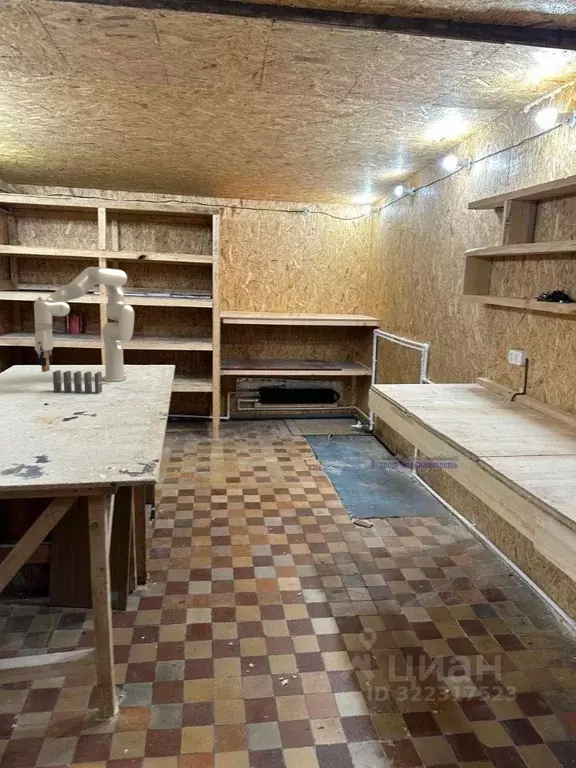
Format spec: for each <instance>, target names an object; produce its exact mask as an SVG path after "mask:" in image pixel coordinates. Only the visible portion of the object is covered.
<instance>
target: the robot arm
mask: <svg viewBox="0 0 576 768" xmlns="http://www.w3.org/2000/svg"><path fill="white" fill-rule="evenodd" d="M127 282H128V275H127V273H126V272H125V271H124V270H122V269H116V268H108V267H103V266H102V267H101V266H89V267H86V268H85V269H83V271H81V272H80V273H79V274H78V275H76V277H75V278H74V279H73V280H72V281H71V282H69V283H68V284H67V285H65V286H63V287H61V288H59V289H57V290H55V291H54V292H53V293H51V295H49V296H48V297H47V298H46V299H45V300H36V301H34V304H33V310H34V327H35V328H34V329H35V332H34V350H35V352H36V353H37V355H38V364H39V366H41V367H42V366H46V357H45V353H46V351H48V350H49V364H50V365H51V364H52V363H53V360H52V359H53V358H52V356H53V354H52V352H53V349H54V338H53V336H54V335H53V331H54V330H53V316H54V317H65V316H68V314H69V313H70V311H71V307H70V304H68V303H67V302H69V301H71V300H76V299H80V298H82V297H83V296H85V295H86V294H87V293H88V292H89V290H91V289H92V288H93V287H94V286H95V285H104V287H105V288H106V291H107V306H106V316H107V318H108V319H109V320H113V321H118V322H108V323H106V324H104V326H103V327H102V331H101V332H102V334H101V335H102V339H103V343H104V361H105V362H104V363H105V364H104V366H105V370H104V371H105V376H102V380H103V381H105V382H123V381H126V380H127V378H128V377H127V376H125V375H124V374H125V373H124V346H123V342H124V343H125V342H129V341H130V340H131V339H132V337H133V333H134V328H135V327H134V325H135V310H134V308H133V306H132V305H131V304H128V303H125V291H124V287H123V286H124V285H126V283H127ZM42 352H43V353H42Z"/></svg>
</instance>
